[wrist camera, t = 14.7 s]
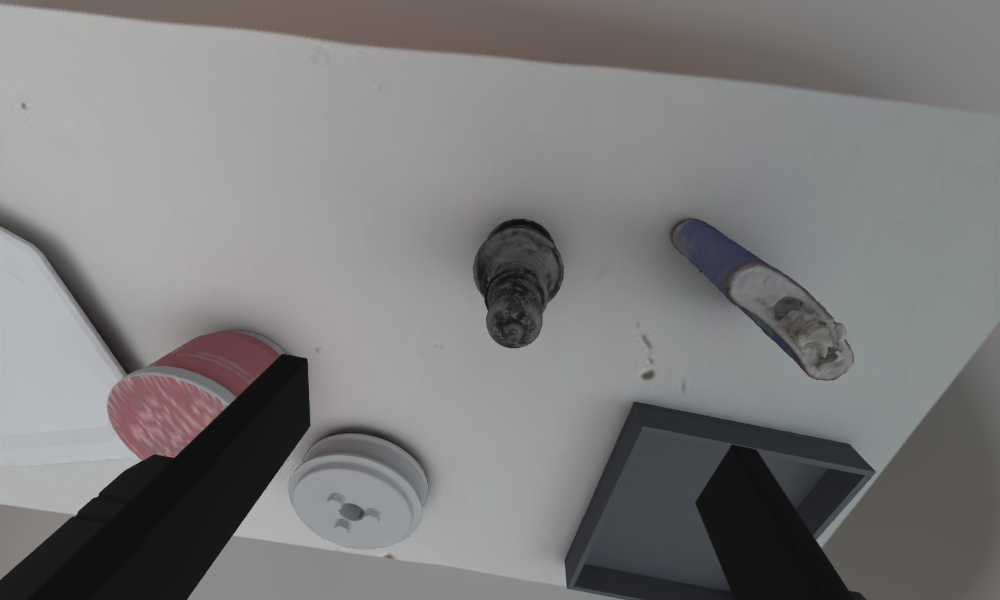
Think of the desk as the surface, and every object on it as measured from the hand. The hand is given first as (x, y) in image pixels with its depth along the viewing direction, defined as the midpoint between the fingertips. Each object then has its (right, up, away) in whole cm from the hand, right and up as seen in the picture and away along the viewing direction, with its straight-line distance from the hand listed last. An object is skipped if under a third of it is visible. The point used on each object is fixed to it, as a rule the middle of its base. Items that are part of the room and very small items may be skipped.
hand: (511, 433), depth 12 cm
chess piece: (+1, +8, +16) cm, 18 cm away
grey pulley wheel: (-14, -13, +28) cm, 34 cm away
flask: (+15, +7, +16) cm, 23 cm away
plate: (-46, 0, +24) cm, 51 cm away
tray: (+18, -17, +26) cm, 36 cm away
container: (-22, -2, +23) cm, 32 cm away
